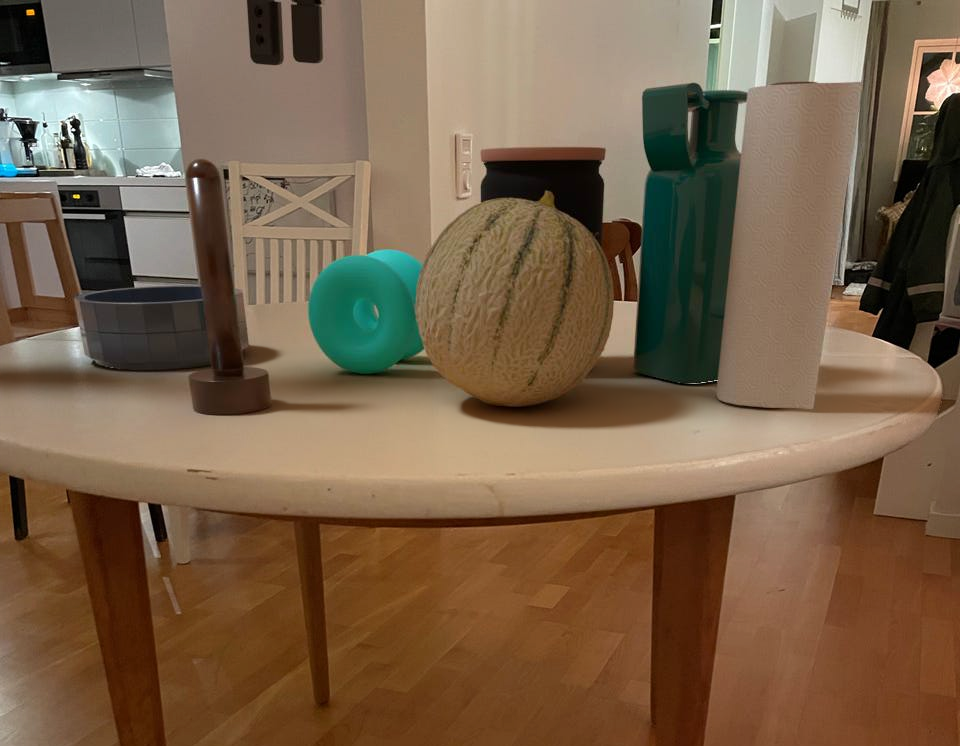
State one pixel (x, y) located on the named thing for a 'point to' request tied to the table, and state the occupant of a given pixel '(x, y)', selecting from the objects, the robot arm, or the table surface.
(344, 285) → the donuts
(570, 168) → the coffee jar
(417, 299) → the cantaloupe
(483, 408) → the table surface
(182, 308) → the bowl
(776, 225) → the paper towel roll
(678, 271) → the pitcher
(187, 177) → the wooden masher
